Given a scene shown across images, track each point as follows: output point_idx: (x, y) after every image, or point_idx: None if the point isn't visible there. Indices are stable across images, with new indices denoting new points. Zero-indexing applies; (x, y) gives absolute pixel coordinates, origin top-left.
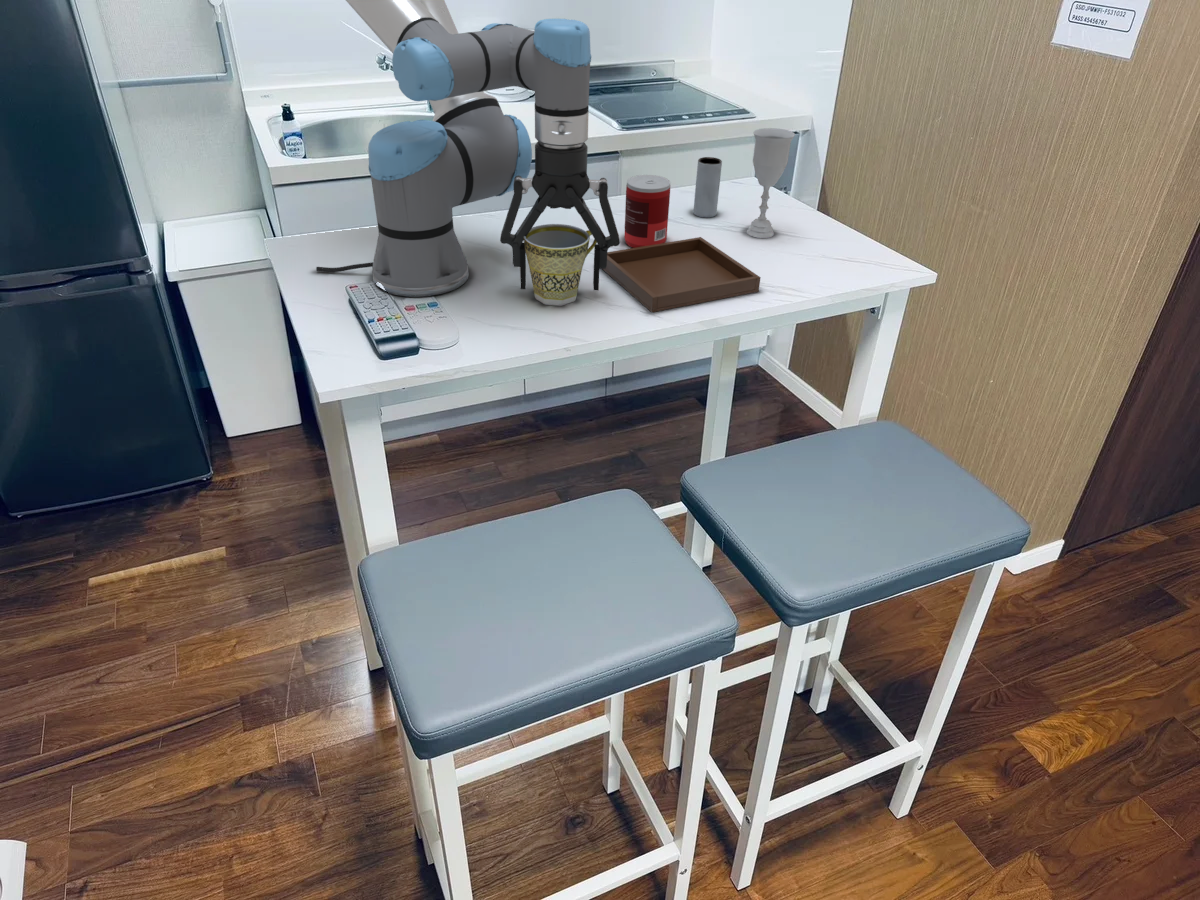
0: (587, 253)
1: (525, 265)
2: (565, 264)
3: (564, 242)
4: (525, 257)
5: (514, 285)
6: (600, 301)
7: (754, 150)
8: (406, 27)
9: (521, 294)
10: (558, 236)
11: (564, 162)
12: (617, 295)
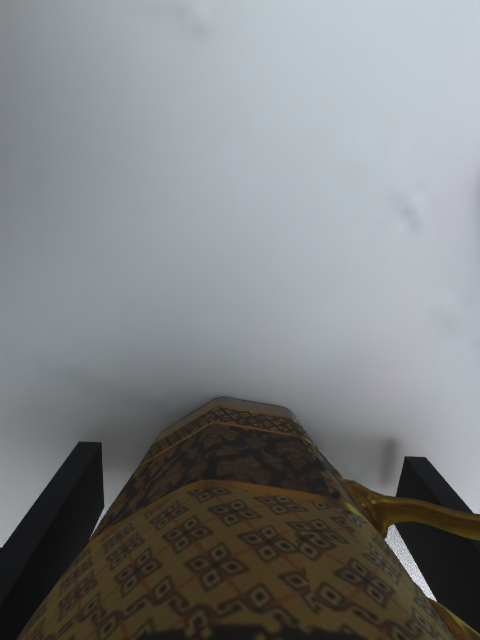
0: (476, 538)
1: (54, 562)
2: None
3: (335, 565)
4: (26, 596)
5: (62, 360)
6: None
7: None
8: None
9: (100, 440)
10: (287, 607)
11: None
12: (473, 465)
